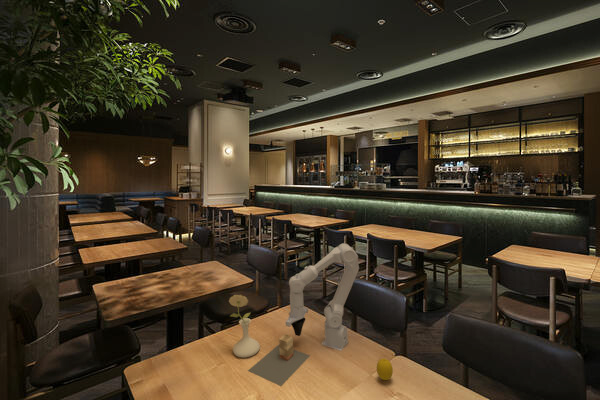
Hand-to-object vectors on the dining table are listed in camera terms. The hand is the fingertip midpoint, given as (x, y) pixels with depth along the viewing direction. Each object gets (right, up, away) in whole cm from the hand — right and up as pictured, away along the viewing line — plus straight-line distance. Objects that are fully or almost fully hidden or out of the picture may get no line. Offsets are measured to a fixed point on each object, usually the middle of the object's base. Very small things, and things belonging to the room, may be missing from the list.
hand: (298, 334), depth 127 cm
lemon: (+31, -7, -21) cm, 38 cm away
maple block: (-5, -6, -7) cm, 10 cm away
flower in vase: (-23, -7, -1) cm, 24 cm away
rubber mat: (-7, -7, -11) cm, 14 cm away
